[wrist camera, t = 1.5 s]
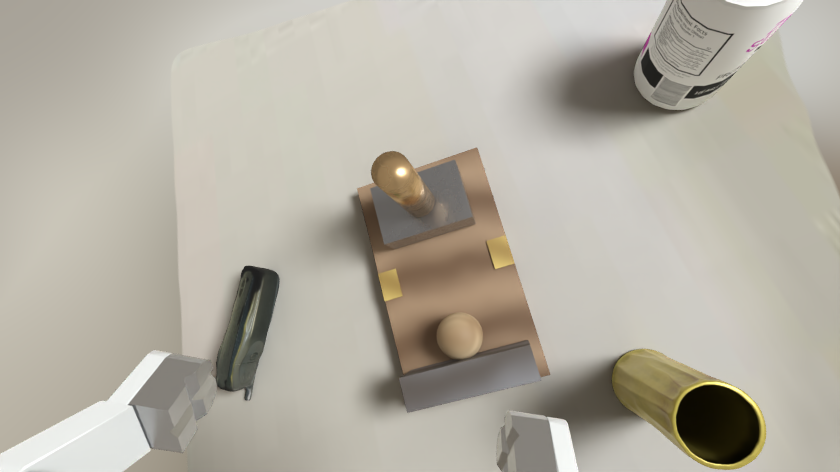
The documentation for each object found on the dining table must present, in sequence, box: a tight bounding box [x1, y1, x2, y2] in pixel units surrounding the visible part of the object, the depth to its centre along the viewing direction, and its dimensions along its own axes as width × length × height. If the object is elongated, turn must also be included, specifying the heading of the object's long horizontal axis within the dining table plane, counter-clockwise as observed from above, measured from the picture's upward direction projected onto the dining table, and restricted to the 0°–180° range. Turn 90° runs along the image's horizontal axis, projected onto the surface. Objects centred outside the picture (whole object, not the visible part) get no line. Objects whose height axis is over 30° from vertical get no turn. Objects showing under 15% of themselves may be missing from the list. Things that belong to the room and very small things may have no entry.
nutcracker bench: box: [357, 148, 550, 413], centre depth 41 cm, size 24×14×7 cm, turn 16°
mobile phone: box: [216, 266, 279, 400], centre depth 46 cm, size 5×3×15 cm
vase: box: [612, 349, 766, 470], centre depth 32 cm, size 6×6×14 cm
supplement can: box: [634, 0, 803, 110], centre depth 36 cm, size 8×8×15 cm
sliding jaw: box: [370, 151, 476, 249], centre depth 37 cm, size 6×9×14 cm, turn 106°
